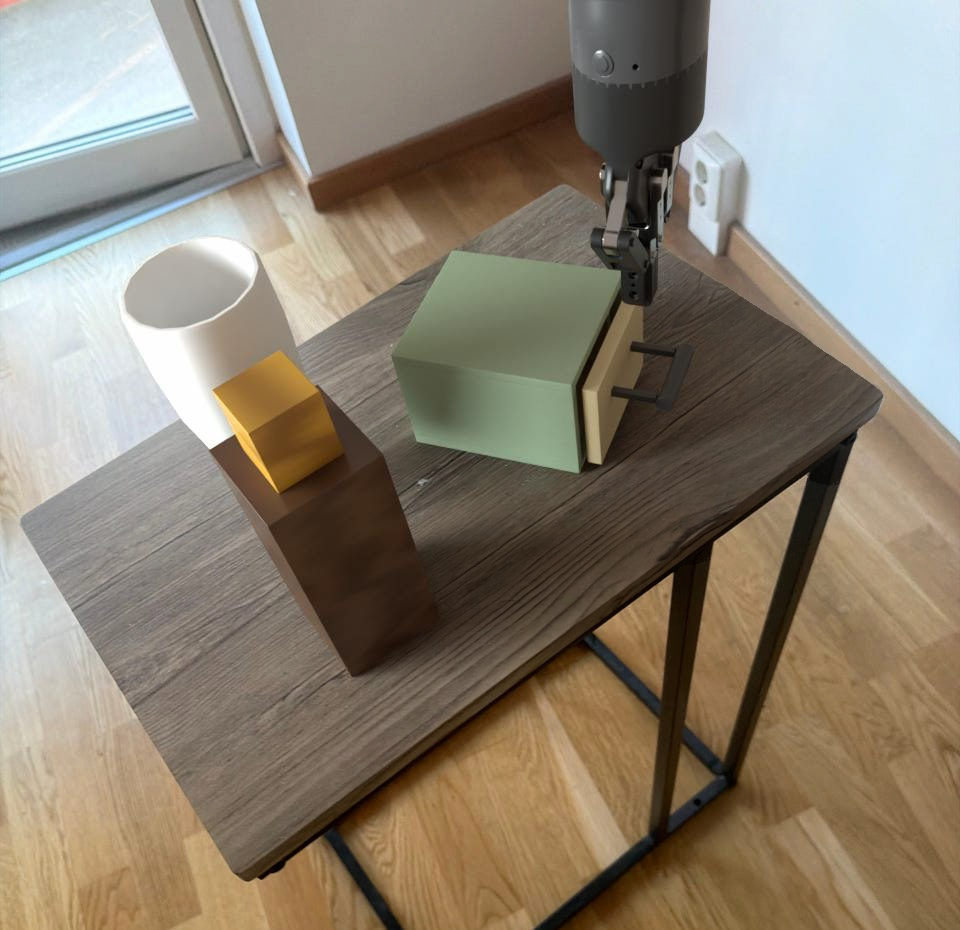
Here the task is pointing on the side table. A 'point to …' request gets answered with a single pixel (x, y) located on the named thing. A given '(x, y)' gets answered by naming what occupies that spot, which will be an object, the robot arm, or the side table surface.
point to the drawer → (622, 378)
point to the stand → (340, 545)
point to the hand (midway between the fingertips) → (639, 298)
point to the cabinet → (504, 356)
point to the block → (279, 420)
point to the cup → (204, 324)
